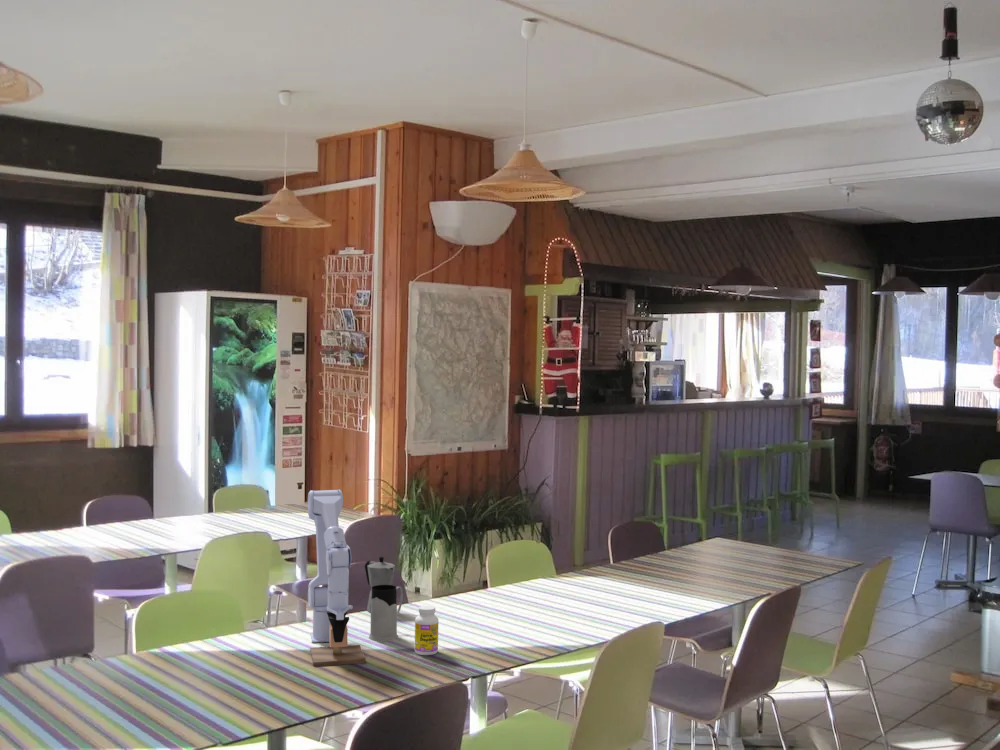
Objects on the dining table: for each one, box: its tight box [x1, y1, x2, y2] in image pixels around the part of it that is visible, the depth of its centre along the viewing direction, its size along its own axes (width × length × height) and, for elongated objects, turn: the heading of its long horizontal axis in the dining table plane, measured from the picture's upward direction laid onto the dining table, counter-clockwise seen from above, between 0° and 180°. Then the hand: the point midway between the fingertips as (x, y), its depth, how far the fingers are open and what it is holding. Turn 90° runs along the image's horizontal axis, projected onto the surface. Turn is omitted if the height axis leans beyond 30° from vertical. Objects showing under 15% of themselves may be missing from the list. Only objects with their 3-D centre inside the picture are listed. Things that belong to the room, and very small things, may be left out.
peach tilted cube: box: [328, 625, 349, 647], centre depth 270 cm, size 5×5×5 cm
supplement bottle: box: [414, 605, 439, 656], centre depth 275 cm, size 7×7×13 cm
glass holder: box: [368, 584, 404, 642], centre depth 293 cm, size 9×14×15 cm, turn 152°
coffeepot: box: [364, 556, 396, 614], centre depth 323 cm, size 15×9×18 cm, turn 44°
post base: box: [310, 644, 366, 667], centre depth 270 cm, size 14×14×5 cm
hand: (337, 639), depth 270 cm, fingers closed on peach tilted cube, 4 cm apart
